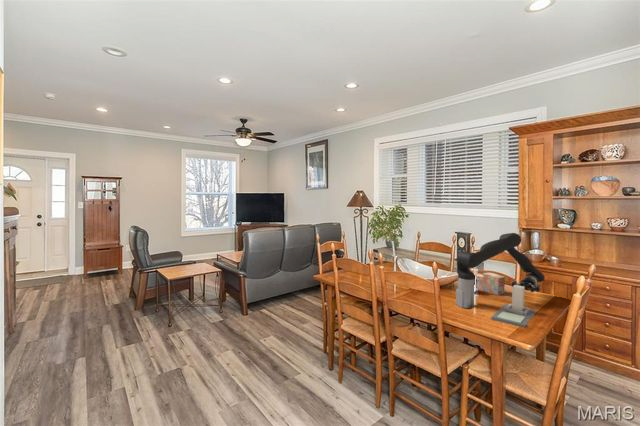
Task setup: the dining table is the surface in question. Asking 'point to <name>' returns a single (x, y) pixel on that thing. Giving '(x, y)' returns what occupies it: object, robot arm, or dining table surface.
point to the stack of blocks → (491, 283)
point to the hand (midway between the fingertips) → (523, 289)
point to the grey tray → (513, 315)
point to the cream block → (518, 297)
